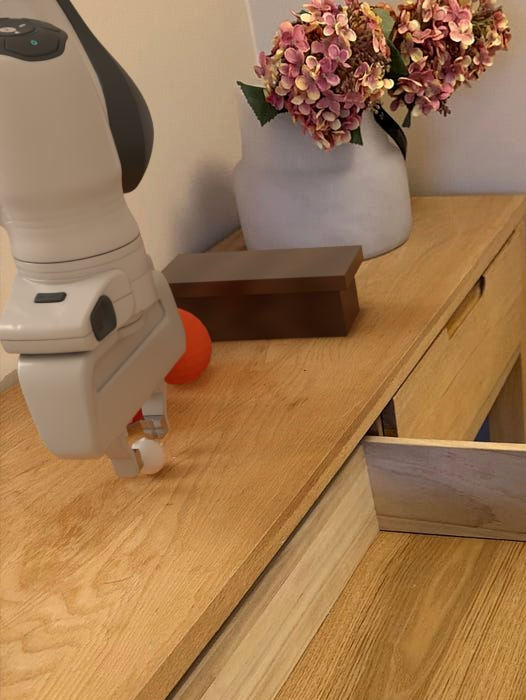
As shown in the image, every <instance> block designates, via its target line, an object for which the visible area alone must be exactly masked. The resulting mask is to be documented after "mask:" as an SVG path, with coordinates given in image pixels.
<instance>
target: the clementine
mask: <svg viewBox="0 0 526 700" xmlns="http://www.w3.org/2000/svg"><path fill="white" fill-rule="evenodd" d="M178 311H179V314H180V317H181V320H182V323H183V327H184V330H185V334H186V351H185V353H184V354H183V355H182V357H181V358H180V359H179V360H178V362H177V363H176V364H175V365H174V367H173V368H172V369H171V370H170V372H169V373H168V374H167V375H166V377H165V378H164V380H165V383H166V384H169V385H182V384H183V385H184V384H187V383H190V382H193V381H195V380H197V379H198V378H200V377H201V375H203V374H204V373H205V372H206V370H207V368H208V366H209V364H210V362H211V358H212V351H213V346H212V341H211V339H210V336H209V334H208V331H207V329H206V328H205V326H204V325H203V324H202V322H201V321H200V320H199V319H198V318H196V317H195V316H194V315H193V314H191V313H189V312H187V311H185V310H182V309H179V308H178Z"/></svg>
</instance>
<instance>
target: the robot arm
mask: <svg viewBox="0 0 526 700" xmlns="http://www.w3.org/2000/svg"><path fill="white" fill-rule="evenodd" d="M154 141H155V129H154V122H153V117H152V113H151V111H150V108H149V106H148V104H147V102H146V99H145V97H144V96H143V93H142V92H141V90H140V89H139V87H138V86H137V84H136V83H135V81H134V80H133V78H132V77H131V76H130V75H129V74H128V72H127V71H126V70H125V69H124V67H123V66H122V65H121V64H120V63H119V62H118V61H117V59H115V58H114V56H113V55H112V54H111V53H110V52H109V50H108V49H107V48H106V47H105V46H104V45H103V43H102V42H101V41H100V40H99V39H98V38H97V36H96V35H95V34H94V33H93V31H92V30H91V29H90V28H89V26H88V25H87V23H86V22H85V20H84V19H83V18H82V16H81V14H80V13H79V11H78V10H77V9H76V7H75V6H74V4H73V2H72V1H71V0H0V227H2V228H3V229H4V230H5V232H6V233H7V236H8V240H9V245H10V254H11V256H12V259H13V263H14V265H15V267H16V270H17V273H16V274H15V276H14V278H13V281H12V286H11V291H10V294H9V297H8V299H7V302H6V304H5V306H4V308H3V311H2V313H1V315H0V345H1V346H2V349H3V351H4V352H5V353H7V354H9V355H10V354H12V355H13V354H15V355H19V356H18V358H17V364H16V370H17V372H16V373H17V378H18V383H19V386H20V389H21V392H22V395H23V398H24V400H25V403H26V405H27V408H28V410H29V412H30V416H31V418H32V420H33V422H34V425H35V427H36V429H37V432H38V434H39V436H40V438H41V441H42V443H43V444H44V446H45V448H46V449H47V451H48V452H50V453H51V454H52V455H53V456H55V457H56V458H57V459H60V460H64V461H82V460H83V461H85V460H98V459H101V458H102V457H103V456H104V455H105V456H106V457H107V458H109V459H110V462H111V463H112V464H111V465H112V466H113V469H114V472H115V475H117V477H119V478H120V479H134V478H137V477H138V476H139V474H140V471H141V470H142V468H143V466H144V463H143V461H142V459H141V454H140V451H139V449H132V448H131V447H132V445H130V444H129V442H128V440H127V438H128V437H129V432H128V430H127V429H126V426H127V425H128V423H129V422H130V421H131V420H132V418H133V417H134V416H135V415H136V413H137V412H138V411H139V410H140V408H141V407H142V413H143V417H142V418H141V420H140V423H139V424H140V426H141V429H142V430H143V435H144V438H146V439H149V440H153V441H155V440H164V438H165V437H166V436H167V435H168V434H169V432H170V431H171V428H172V427H171V422H170V420H169V416H168V413H167V409H168V404H167V402H168V400H167V399H168V393H167V391H168V387H167V383H166V382H165V380H164V378H165V377H166V375H167V374H168V373H169V372H170V370H171V369H172V368H173V367H174V365H175V364H176V363H177V362H178V360H179V359H180V358H181V357H182V355H183V354H184V353H185V351H186V334H185V330H184V327H183V323H182V320H181V317H180V314H179V311H178V308H177V305H176V303H175V300H174V297H173V294H172V292H171V289H170V287H169V284H168V282H167V280H166V278H165V277H164V275H163V274H162V273H161V271H160V270H158V269H155V265H154V263H153V260H152V258H151V255H150V254H148V253H147V250H146V248H145V245H144V240H143V237H142V234H141V230H140V227H139V224H138V222H137V220H136V218H135V217H134V215H133V213H132V212H131V209H130V208H129V206H128V204H127V202H126V197H125V195H126V194H129V193H132V192H134V191H135V190H136V189H137V188H138V187H139V185H140V183H141V182H142V180H143V178H144V176H145V174H146V172H147V169H148V167H149V164H150V161H151V158H152V153H153V149H154Z"/></svg>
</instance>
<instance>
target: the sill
mask: <svg viewBox="0 0 526 700" xmlns="http://www.w3.org/2000/svg"><path fill="white" fill-rule="evenodd" d="M364 259H365V258H364V252H363V245H362V244H355V245H354V244H353V245H336V246H317V247H315V246H314V247H301V248H300V247H296V248H294V247H293V248H275V249H274V248H273V249H255V250H254V249H253V250H237V251H236V250H234V251H215V252H197V253H196V252H194V253H178V254H177V255H176V256H175V257H174V258H173V259H172V260H171V261H170V262H169V263H168V264H167V265H166V266H165V267H164V268H163V269H162V270H161V271H160V272H161V273H162V274H163V275H164V277H165V278H166V280H167V282H168V284H169V287H170V289H171V292H172V294H173V297H174V300H175V303H176V305H177V308H179V309H182V310H185V311H187V312H189V313H191V314H193V315H194V316H195V317H196V318H198V319H199V320H200V321H201V322H202V324H203V325H204V326H205V328H206V329H207V331H208V334H209V336H210V339H211V342H225V341H251V340H253V341H254V340H276V339H305V338H328V337H331V338H332V337H335V338H336V337H347V336H348V335H349V333H350V332H351V329H352V327H353V325H354V323H355V321H356V319H357V317H358V315H359V313H360V310H361V307H360V303H359V296H358V290H357V283H356V274H357V273H358V271H359V269H360V267H361V265H362V263H363V262H364Z"/></svg>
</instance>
